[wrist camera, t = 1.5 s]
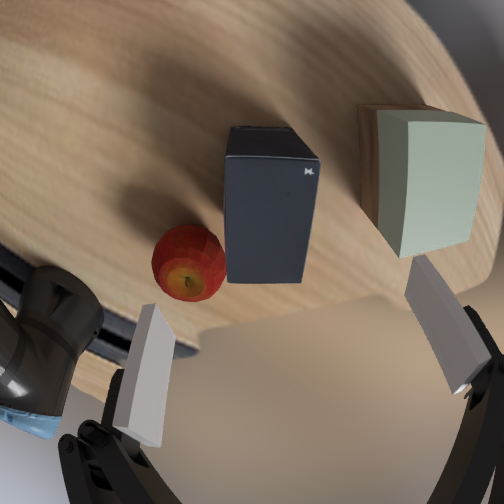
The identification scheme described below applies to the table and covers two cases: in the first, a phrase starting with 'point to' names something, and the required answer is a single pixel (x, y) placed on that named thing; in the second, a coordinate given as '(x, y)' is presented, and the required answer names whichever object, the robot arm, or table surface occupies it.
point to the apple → (189, 263)
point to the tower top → (428, 178)
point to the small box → (268, 204)
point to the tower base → (374, 153)
